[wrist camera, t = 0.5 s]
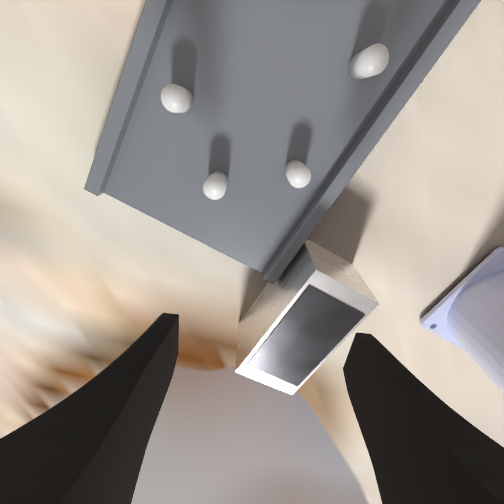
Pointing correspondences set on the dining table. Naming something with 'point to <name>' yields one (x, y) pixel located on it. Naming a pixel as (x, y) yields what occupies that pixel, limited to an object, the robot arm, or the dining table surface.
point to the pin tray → (261, 112)
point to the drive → (301, 318)
